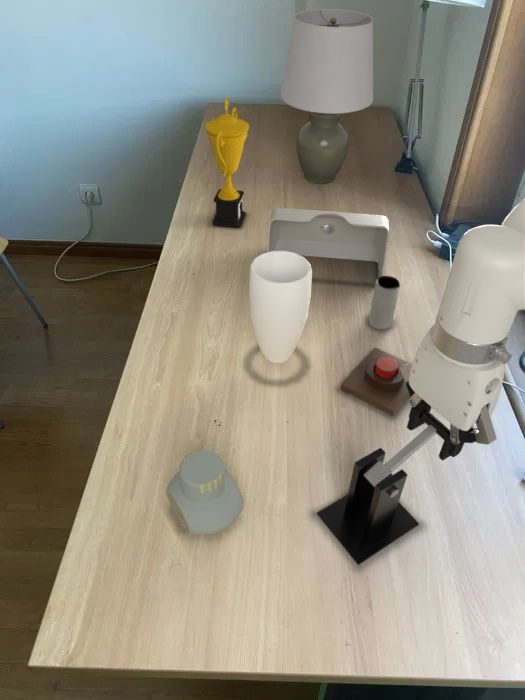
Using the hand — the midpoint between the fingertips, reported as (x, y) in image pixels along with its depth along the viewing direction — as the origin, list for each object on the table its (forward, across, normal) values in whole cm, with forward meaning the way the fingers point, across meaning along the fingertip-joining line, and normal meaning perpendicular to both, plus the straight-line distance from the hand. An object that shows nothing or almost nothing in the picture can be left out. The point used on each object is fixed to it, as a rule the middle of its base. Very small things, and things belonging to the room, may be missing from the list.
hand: (432, 438), depth 74 cm
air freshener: (+13, +14, +27) cm, 33 cm away
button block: (+13, +19, -11) cm, 25 cm away
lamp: (+13, +91, -52) cm, 106 cm away
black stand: (+13, 0, +9) cm, 16 cm away
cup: (+13, +33, +2) cm, 35 cm away
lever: (+1, 0, +4) cm, 4 cm away
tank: (+13, +55, -26) cm, 62 cm away
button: (+9, +19, -11) cm, 24 cm away
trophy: (+13, +82, -17) cm, 85 cm away
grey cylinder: (+13, +32, -22) cm, 41 cm away
